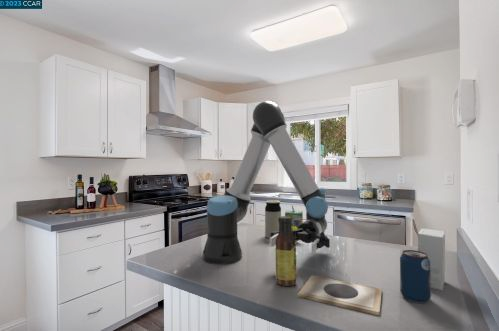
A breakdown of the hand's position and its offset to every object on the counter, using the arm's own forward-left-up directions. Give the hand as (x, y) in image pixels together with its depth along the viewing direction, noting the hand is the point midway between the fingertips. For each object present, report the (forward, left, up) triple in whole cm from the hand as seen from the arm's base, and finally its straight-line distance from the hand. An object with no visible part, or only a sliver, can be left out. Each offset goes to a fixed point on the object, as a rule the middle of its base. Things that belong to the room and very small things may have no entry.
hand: (290, 245), depth 84 cm
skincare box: (+38, +18, -11) cm, 44 cm away
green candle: (-19, +58, -11) cm, 62 cm away
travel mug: (-26, +46, -11) cm, 54 cm away
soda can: (+33, +5, -11) cm, 35 cm away
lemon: (-13, +41, -11) cm, 44 cm away
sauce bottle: (-1, -2, -11) cm, 11 cm away
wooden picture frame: (+15, -2, -11) cm, 19 cm away
